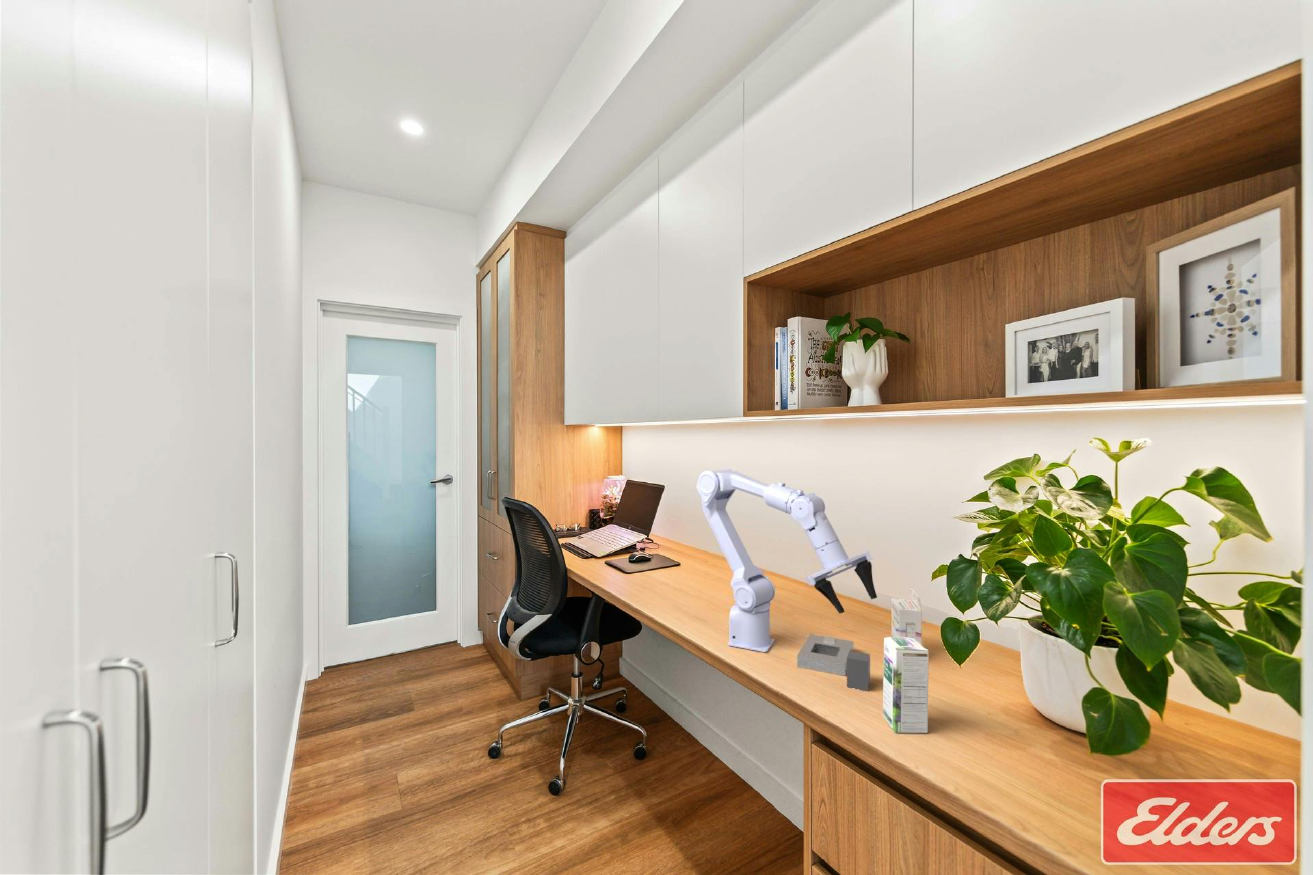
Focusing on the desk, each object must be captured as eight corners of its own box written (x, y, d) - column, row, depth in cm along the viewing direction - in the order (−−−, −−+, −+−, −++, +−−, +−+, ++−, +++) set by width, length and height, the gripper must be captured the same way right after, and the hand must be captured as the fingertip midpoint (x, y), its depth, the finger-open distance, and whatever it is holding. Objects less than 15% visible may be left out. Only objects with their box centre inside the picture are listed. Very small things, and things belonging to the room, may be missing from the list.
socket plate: (797, 666, 117) (797, 653, 117) (809, 644, 129) (809, 632, 129) (845, 676, 112) (845, 662, 112) (853, 651, 125) (853, 639, 125)
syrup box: (881, 716, 96) (881, 636, 96) (914, 716, 96) (914, 636, 96) (894, 733, 90) (894, 648, 90) (930, 734, 90) (929, 649, 90)
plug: (846, 687, 107) (846, 657, 107) (849, 679, 111) (849, 650, 111) (868, 691, 105) (868, 661, 105) (870, 683, 109) (870, 654, 109)
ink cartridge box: (890, 646, 128) (890, 585, 128) (912, 647, 127) (912, 586, 127) (898, 661, 119) (898, 595, 119) (922, 663, 118) (922, 597, 118)
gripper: (800, 555, 112) (832, 618, 107) (862, 529, 113) (895, 590, 109) (794, 560, 119) (823, 619, 114) (852, 535, 120) (883, 592, 115)
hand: (858, 605), depth 112 cm, fingers open, 7 cm apart
